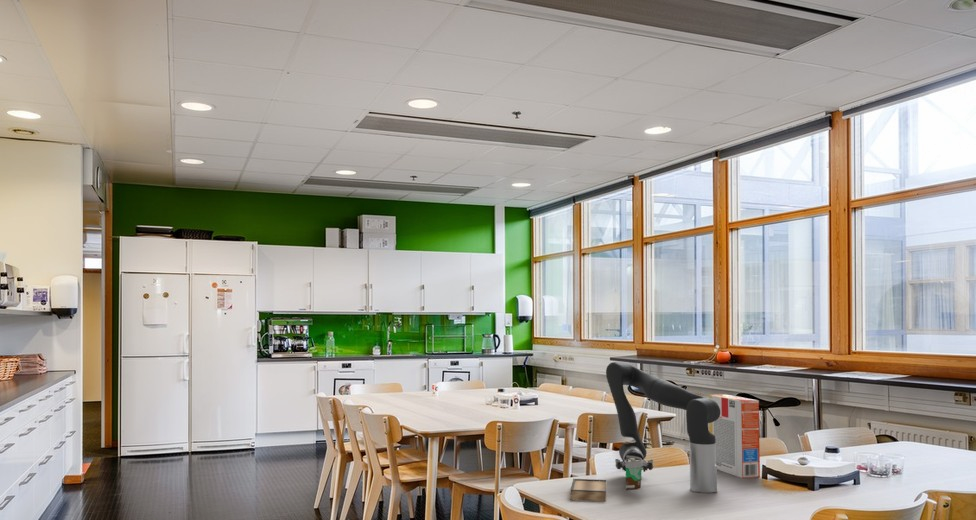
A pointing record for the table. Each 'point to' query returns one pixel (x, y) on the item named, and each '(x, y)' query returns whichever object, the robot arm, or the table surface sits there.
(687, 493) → the table surface
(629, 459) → the food container
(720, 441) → the pasta box
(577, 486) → the dock
